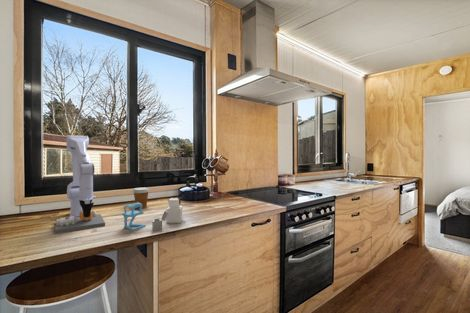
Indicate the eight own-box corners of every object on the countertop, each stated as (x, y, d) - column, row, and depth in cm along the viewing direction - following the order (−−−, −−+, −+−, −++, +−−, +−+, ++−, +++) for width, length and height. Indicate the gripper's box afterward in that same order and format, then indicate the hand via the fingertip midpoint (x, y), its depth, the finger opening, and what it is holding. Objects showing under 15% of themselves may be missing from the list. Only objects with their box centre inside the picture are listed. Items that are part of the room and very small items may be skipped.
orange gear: (79, 217, 117) (79, 210, 117) (92, 216, 120) (92, 209, 120) (79, 220, 112) (79, 213, 112) (93, 218, 116) (93, 211, 116)
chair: (133, 224, 117) (133, 200, 116) (145, 226, 113) (145, 201, 113) (119, 228, 110) (119, 203, 109) (132, 231, 106) (132, 205, 106)
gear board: (56, 222, 117) (56, 214, 116) (100, 216, 128) (100, 208, 128) (55, 233, 102) (55, 223, 102) (105, 225, 113) (105, 216, 113)
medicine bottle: (168, 218, 125) (168, 196, 125) (182, 218, 126) (182, 196, 126) (166, 223, 118) (166, 199, 118) (180, 223, 119) (180, 199, 119)
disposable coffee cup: (140, 210, 142) (140, 190, 142) (129, 208, 147) (129, 189, 146) (152, 206, 151) (152, 188, 151) (141, 204, 155) (141, 186, 155)
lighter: (153, 230, 107) (153, 213, 107) (152, 229, 109) (152, 212, 108) (168, 228, 111) (168, 211, 111) (167, 227, 113) (167, 210, 112)
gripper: (97, 189, 112) (97, 217, 113) (94, 185, 124) (94, 211, 124) (79, 191, 108) (79, 220, 109) (78, 186, 120) (78, 213, 120)
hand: (86, 215), depth 116 cm, fingers closed on orange gear, 6 cm apart
